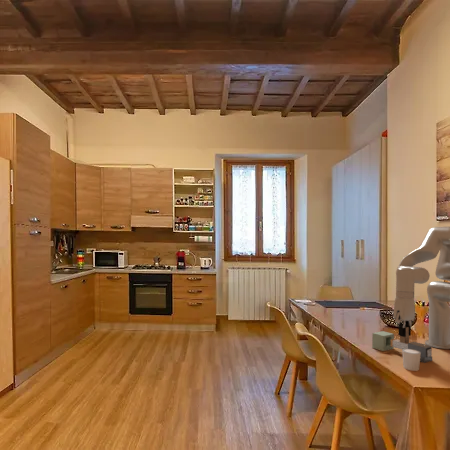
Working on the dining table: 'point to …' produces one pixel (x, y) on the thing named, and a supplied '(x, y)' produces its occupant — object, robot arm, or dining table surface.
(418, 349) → the sleeve
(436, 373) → the dining table surface
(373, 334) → the socket block
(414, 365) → the shot glass
